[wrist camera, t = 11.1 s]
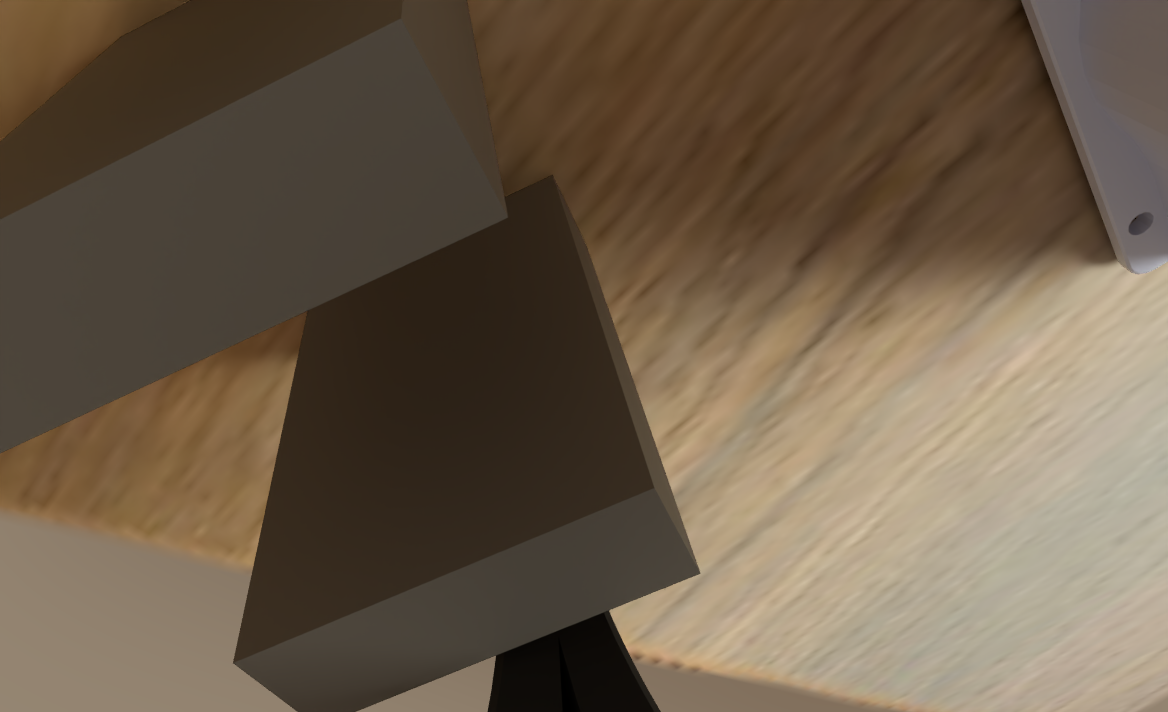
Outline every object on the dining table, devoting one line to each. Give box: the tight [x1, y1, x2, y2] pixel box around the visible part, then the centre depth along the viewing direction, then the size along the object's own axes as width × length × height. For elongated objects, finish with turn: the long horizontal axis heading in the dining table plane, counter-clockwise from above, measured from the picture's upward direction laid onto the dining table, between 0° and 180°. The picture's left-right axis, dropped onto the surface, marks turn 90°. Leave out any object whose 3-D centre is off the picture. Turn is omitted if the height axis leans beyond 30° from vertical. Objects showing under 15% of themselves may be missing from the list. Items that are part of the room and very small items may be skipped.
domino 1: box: [0, 0, 508, 453], centre depth 9 cm, size 2×5×8 cm, turn 112°
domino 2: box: [233, 175, 700, 712], centre depth 12 cm, size 2×5×8 cm, turn 113°
